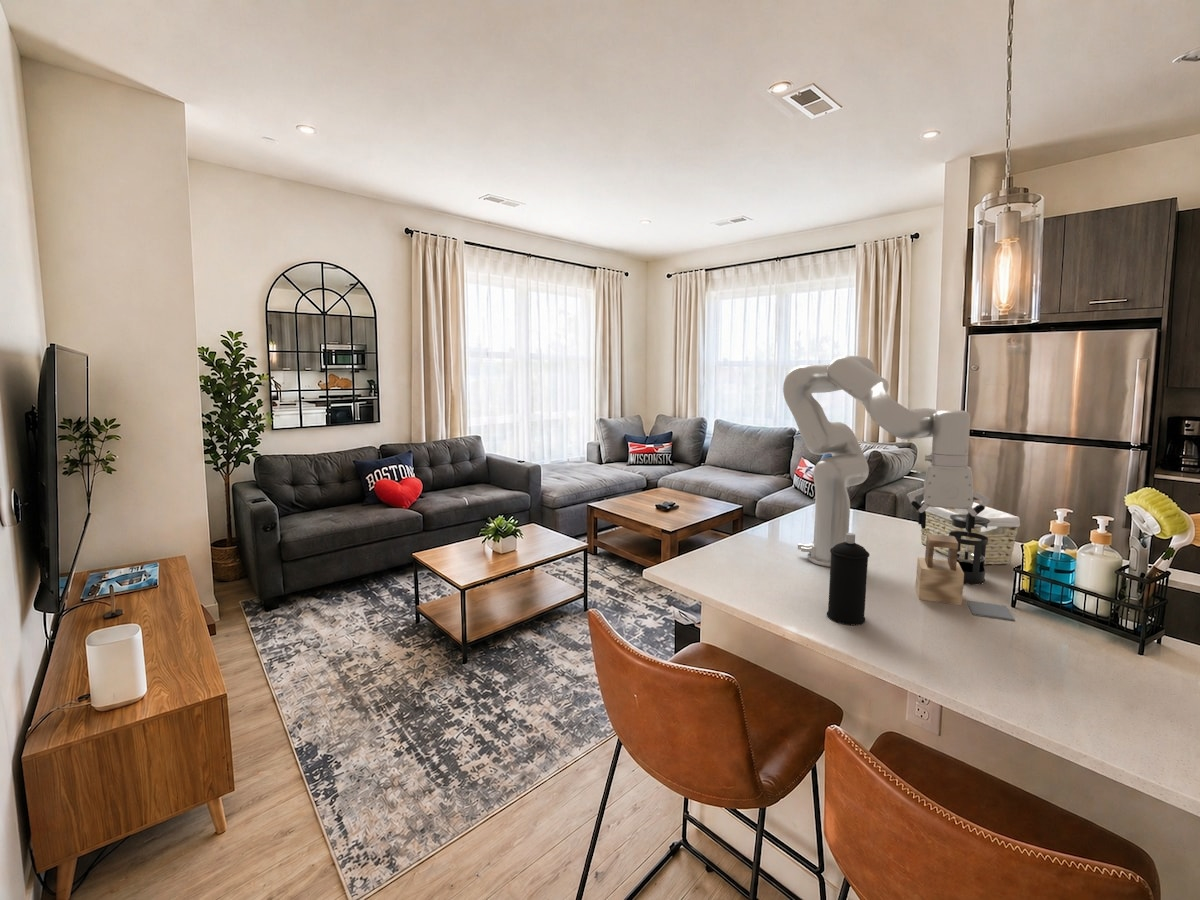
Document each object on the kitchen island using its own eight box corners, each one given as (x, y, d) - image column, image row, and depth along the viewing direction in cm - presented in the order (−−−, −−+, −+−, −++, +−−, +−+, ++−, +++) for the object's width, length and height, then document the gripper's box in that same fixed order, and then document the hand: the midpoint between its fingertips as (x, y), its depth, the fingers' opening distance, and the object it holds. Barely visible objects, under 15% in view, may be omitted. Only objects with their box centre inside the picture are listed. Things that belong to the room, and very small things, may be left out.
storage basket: (914, 542, 184) (918, 498, 181) (962, 541, 184) (966, 498, 182) (963, 567, 160) (968, 518, 158) (1018, 566, 160) (1023, 517, 158)
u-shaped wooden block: (927, 567, 138) (929, 540, 137) (924, 559, 143) (926, 533, 142) (955, 570, 135) (958, 543, 134) (952, 563, 140) (954, 536, 139)
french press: (995, 585, 146) (1003, 500, 143) (958, 585, 146) (966, 500, 143) (967, 569, 158) (974, 491, 154) (933, 569, 158) (940, 491, 155)
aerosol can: (862, 628, 122) (868, 541, 120) (823, 620, 127) (827, 535, 124) (867, 614, 129) (872, 532, 127) (829, 607, 134) (834, 527, 131)
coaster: (972, 614, 129) (972, 613, 129) (966, 601, 136) (966, 600, 136) (1014, 620, 126) (1014, 619, 126) (1005, 607, 133) (1006, 605, 133)
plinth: (918, 599, 138) (921, 568, 137) (915, 586, 146) (917, 557, 145) (961, 605, 134) (964, 573, 133) (955, 591, 142) (958, 562, 141)
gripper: (910, 461, 135) (906, 529, 137) (995, 464, 128) (990, 536, 130) (907, 457, 142) (904, 522, 144) (988, 460, 135) (984, 528, 137)
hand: (945, 529), depth 137 cm, fingers open, 9 cm apart
